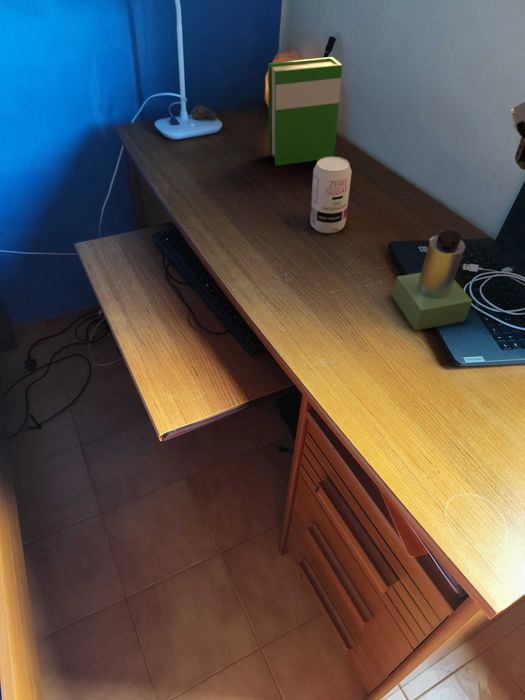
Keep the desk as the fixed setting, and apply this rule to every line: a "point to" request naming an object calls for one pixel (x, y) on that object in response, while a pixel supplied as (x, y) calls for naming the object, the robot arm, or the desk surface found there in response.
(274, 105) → the hardback book
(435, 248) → the flask
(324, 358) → the desk surface
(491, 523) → the desk surface
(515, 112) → the robot arm
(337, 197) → the supplement can
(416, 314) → the block
